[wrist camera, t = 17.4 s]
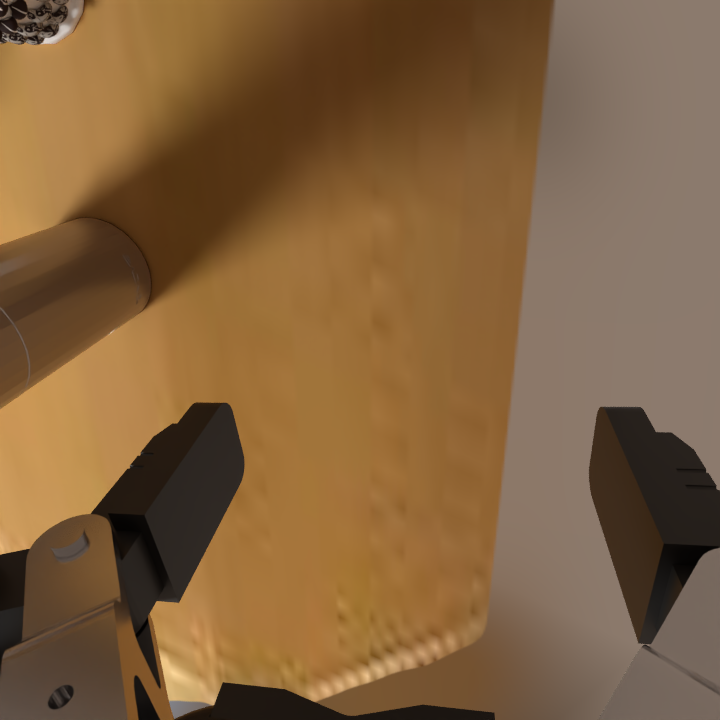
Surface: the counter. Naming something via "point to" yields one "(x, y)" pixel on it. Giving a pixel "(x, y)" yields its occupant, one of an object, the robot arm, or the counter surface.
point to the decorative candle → (38, 20)
